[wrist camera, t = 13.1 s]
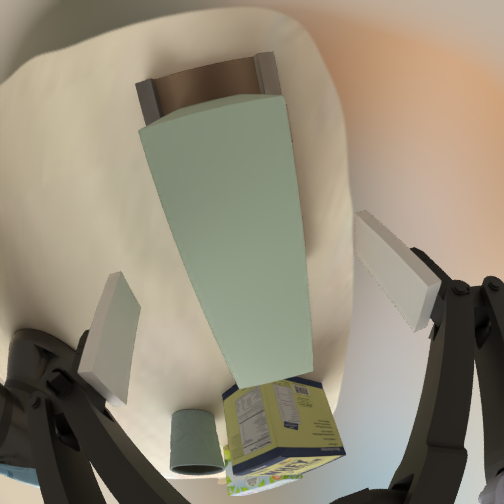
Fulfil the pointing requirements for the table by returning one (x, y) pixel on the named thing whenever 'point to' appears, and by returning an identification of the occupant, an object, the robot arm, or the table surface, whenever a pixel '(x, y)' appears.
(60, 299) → the table surface
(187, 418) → the green cup
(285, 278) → the cracker box
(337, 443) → the protein box
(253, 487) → the snack box
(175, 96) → the facing shelf
